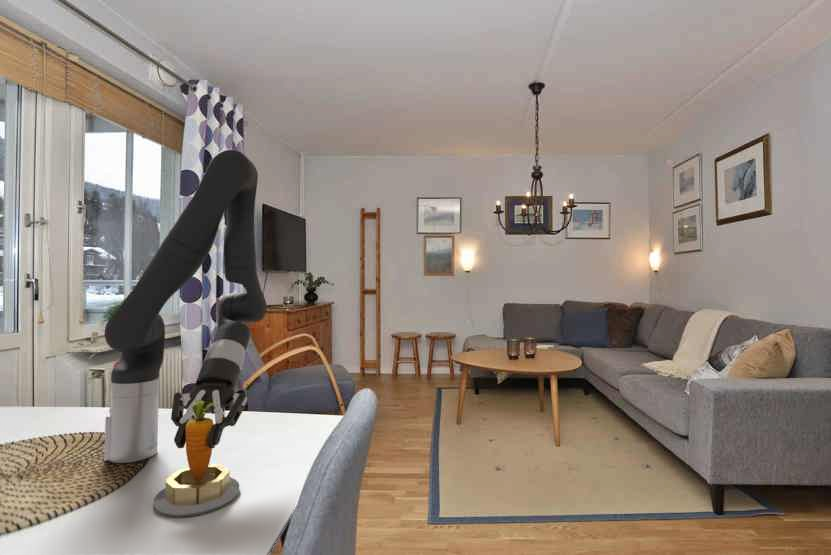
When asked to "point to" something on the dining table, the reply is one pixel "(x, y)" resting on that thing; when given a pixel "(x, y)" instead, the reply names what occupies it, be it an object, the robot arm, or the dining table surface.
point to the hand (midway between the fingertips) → (195, 446)
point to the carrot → (198, 441)
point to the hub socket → (196, 493)
